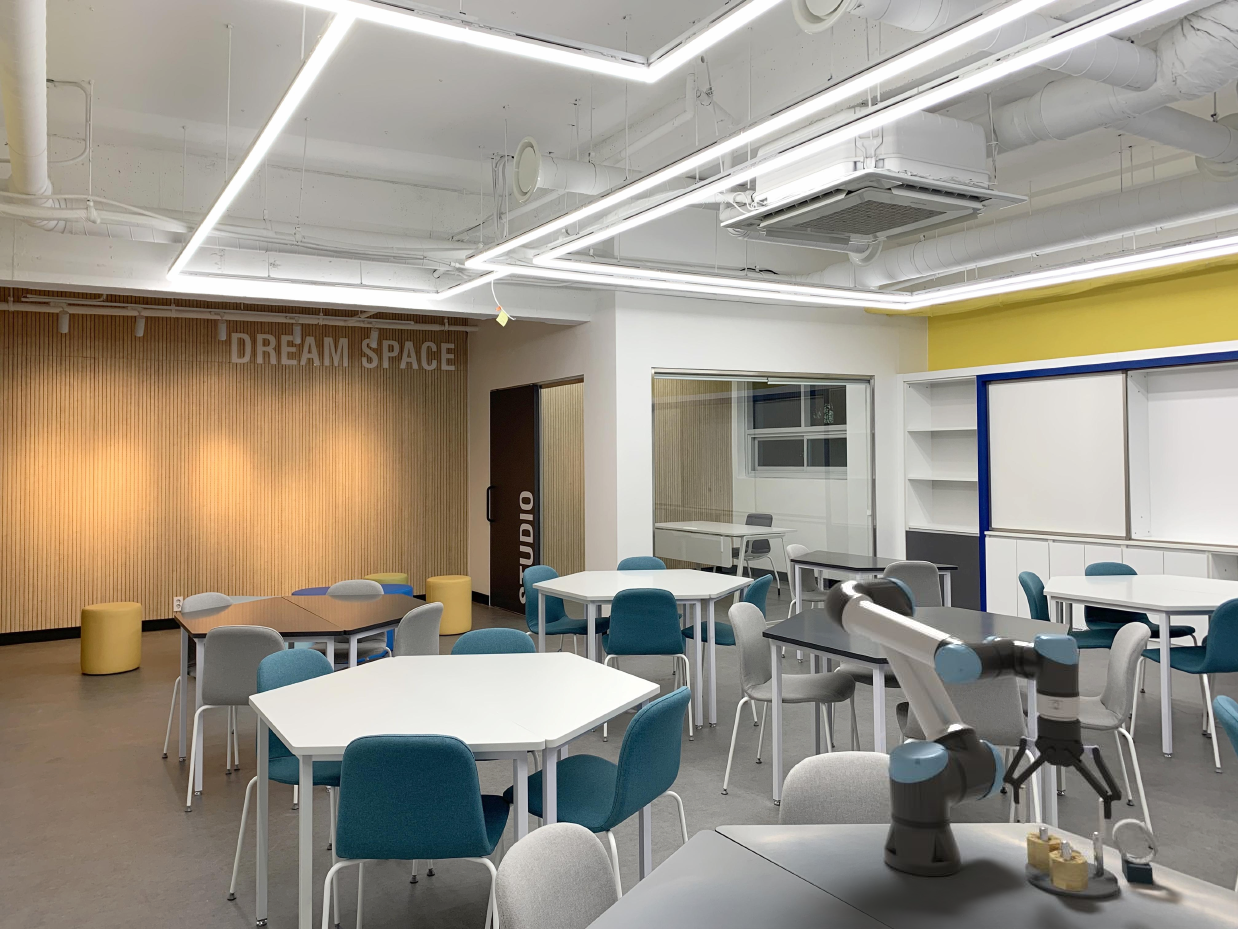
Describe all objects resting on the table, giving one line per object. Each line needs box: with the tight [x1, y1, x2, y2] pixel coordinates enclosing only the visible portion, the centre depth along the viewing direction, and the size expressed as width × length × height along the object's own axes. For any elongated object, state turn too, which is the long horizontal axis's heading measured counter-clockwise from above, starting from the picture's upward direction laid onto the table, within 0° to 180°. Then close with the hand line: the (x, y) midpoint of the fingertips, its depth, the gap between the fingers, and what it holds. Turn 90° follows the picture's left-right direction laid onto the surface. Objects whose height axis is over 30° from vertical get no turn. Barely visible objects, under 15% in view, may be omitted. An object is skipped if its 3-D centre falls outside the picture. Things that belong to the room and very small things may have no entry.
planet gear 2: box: [1049, 851, 1088, 891], centre depth 161 cm, size 6×6×5 cm
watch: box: [1111, 818, 1161, 886], centre depth 167 cm, size 6×8×11 cm
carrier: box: [1024, 826, 1119, 900], centre depth 166 cm, size 16×16×9 cm
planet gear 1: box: [1026, 831, 1062, 870], centre depth 171 cm, size 6×6×5 cm
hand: (1062, 828), depth 163 cm, fingers open, 13 cm apart
